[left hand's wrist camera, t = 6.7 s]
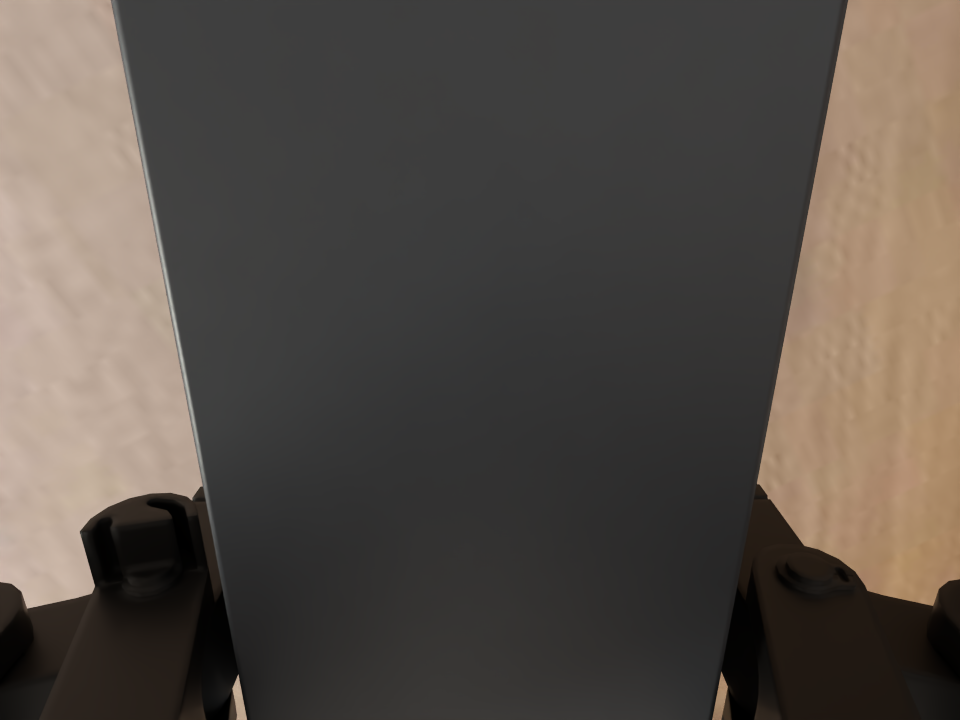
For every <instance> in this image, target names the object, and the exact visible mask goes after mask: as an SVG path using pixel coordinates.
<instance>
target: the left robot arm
mask: <svg viewBox="0 0 960 720" xmlns="http://www.w3.org/2000/svg"><path fill="white" fill-rule="evenodd" d="M80 534H81V538H82V541H83V545H84V548H85V552H86V555H87V559H88V562H89V566H90V570H91V573H92V577H93V580H94V584H95V588H94V590H93V593H92V594H89V595H86V596H82V597H79V598H75V599H70V600H66V601H61V602H56V603H52V604H47V605H42V606H38V607H33V608H29V609H27V607H26V604H25V601H24V598H23V595H22V592H21V591H20V590H18V589H17V588H16V587H15V586H13V585H12V584H9V583H2V582H0V720H236V718H237V713H236V706H235V700H234V695H233V690H232V688H233V685H234V683H235V681H236V678H237V676H238V668H237V663H236V658H235V653H234V647H233V642H232V637H231V631H230V626H229V621H228V616H227V610H226V605H225V600H224V594H223V589H222V584H221V579H220V573H219V568H218V563H217V557H216V552H215V547H214V542H213V536H212V531H211V526H210V520H209V515H208V510H207V505H206V499H205V494H204V489H203V487H200V488H199V490H198V491H197V492H196V494H195V495H194V497H193V500H192V501H191V500H190V499H189V498H188V497H186V496H182V495H177V494H173V493H156V494H147V495H143V496H138V497H134V498H129V499H127V500H124V501H122V502H120V503H117V504H115V505H112V506H110V507H108V508H106V509H105V510H103V511H102V512H100V513H99V514H97V515H96V516H94V517H93V518H91V519H90V520H89V521H88V523H87V524H86V525H85V526H84V527H83V528H82V530H81V531H80ZM721 671H722V674H723V676H724V678H725V681H726V683H727V686H728V690H727V695H726V700H725V705H724V710H723V715H722V720H960V579H959V580H953V581H948V582H947V583H946V584H945V585H943V586H942V587H941V588H940V589H939V591H938V594H937V597H936V600H935V603H934V605H933V606H930V605H926V604H921V603H916V602H912V601H907V600H902V599H898V598H893V597H888V596H884V595H880V594H877V593H873V592H869V591H867V589H866V587H865V585H864V584H863V582H862V581H861V579H860V578H859V577H858V575H857V574H856V572H855V571H854V570H852V569H851V568H850V567H848V566H847V565H846V564H844V563H843V562H842V561H840V560H839V559H837V558H835V557H833V556H831V555H829V554H827V553H825V552H822V551H820V550H818V549H814V548H810V547H806V546H804V545H803V544H802V542H801V541H800V540H799V538H798V537H797V535H796V534H795V533H794V531H793V530H792V529H791V527H790V526H789V524H788V523H787V522H786V520H785V519H784V518H783V516H782V515H781V514H780V512H779V511H778V509H777V508H776V507H775V505H774V504H773V503H772V501H771V500H770V499H768V498H767V494H766V493H765V492H764V490H763V489H762V487H761V486H760V485H757V484H756V490H755V495H754V500H753V506H752V511H751V516H750V522H749V527H748V532H747V537H746V543H745V548H744V553H743V559H742V564H741V569H740V574H739V580H738V585H737V590H736V596H735V601H734V606H733V612H732V617H731V622H730V627H729V633H728V638H727V643H726V649H725V654H724V659H723V664H722V670H721Z"/></svg>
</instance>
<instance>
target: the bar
mask: <svg viewBox="0 0 960 720" xmlns="http://www.w3.org/2000/svg"><path fill="white" fill-rule="evenodd" d="M111 3H112V8H113V13H114V18H115V24H116V29H117V34H118V40H119V45H120V50H121V55H122V61H123V66H124V71H125V77H126V82H127V87H128V92H129V98H130V103H131V108H132V114H133V119H134V124H135V129H136V135H137V140H138V145H139V151H140V156H141V161H142V166H143V172H144V177H145V182H146V188H147V193H148V198H149V203H150V209H151V214H152V219H153V225H154V230H155V235H156V240H157V246H158V251H159V256H160V262H161V267H162V272H163V277H164V283H165V288H166V293H167V299H168V304H169V309H170V314H171V320H172V325H173V330H174V336H175V341H176V346H177V351H178V357H179V362H180V367H181V373H182V378H183V383H184V388H185V394H186V399H187V404H188V410H189V415H190V420H191V425H192V431H193V436H194V441H195V447H196V452H197V457H198V462H199V468H200V473H201V478H202V483H203V489H204V494H205V499H206V505H207V510H208V515H209V520H210V526H211V531H212V536H213V542H214V547H215V552H216V557H217V563H218V568H219V573H220V579H221V584H222V589H223V594H224V600H225V605H226V610H227V616H228V621H229V626H230V631H231V637H232V642H233V647H234V653H235V658H236V663H237V668H238V674H239V679H240V684H241V690H242V695H243V700H244V705H245V711H246V716H247V720H712V717H713V712H714V707H715V702H716V696H717V691H718V686H719V680H720V675H721V670H722V664H723V659H724V654H725V649H726V643H727V638H728V633H729V627H730V622H731V617H732V612H733V606H734V601H735V596H736V590H737V585H738V580H739V574H740V569H741V564H742V559H743V553H744V548H745V543H746V537H747V532H748V527H749V522H750V516H751V511H752V506H753V500H754V495H755V490H756V484H757V479H758V474H759V469H760V463H761V458H762V453H763V447H764V442H765V437H766V432H767V426H768V421H769V416H770V410H771V405H772V400H773V394H774V389H775V384H776V379H777V373H778V368H779V363H780V357H781V352H782V347H783V342H784V336H785V331H786V326H787V320H788V315H789V310H790V304H791V299H792V294H793V289H794V283H795V278H796V273H797V267H798V262H799V257H800V252H801V246H802V241H803V236H804V230H805V225H806V220H807V214H808V209H809V204H810V199H811V193H812V188H813V183H814V177H815V172H816V167H817V162H818V156H819V151H820V146H821V140H822V135H823V130H824V124H825V119H826V114H827V109H828V103H829V98H830V93H831V87H832V82H833V77H834V72H835V66H836V61H837V56H838V50H839V45H840V40H841V34H842V29H843V24H844V19H845V13H846V8H847V3H848V0H111Z"/></svg>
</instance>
